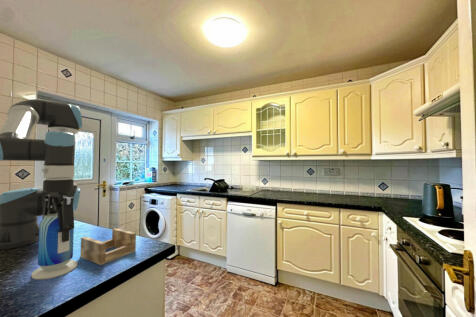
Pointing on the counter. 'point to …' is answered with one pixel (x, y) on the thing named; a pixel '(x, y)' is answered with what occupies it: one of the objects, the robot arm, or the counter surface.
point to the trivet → (54, 271)
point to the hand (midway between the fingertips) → (56, 248)
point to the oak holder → (97, 249)
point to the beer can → (52, 244)
